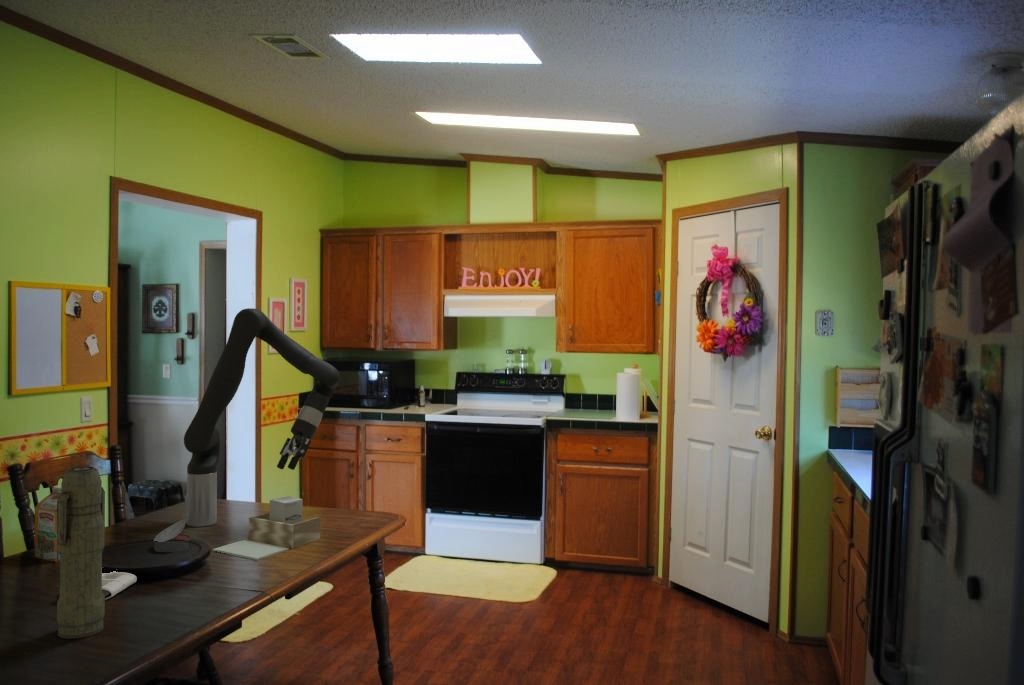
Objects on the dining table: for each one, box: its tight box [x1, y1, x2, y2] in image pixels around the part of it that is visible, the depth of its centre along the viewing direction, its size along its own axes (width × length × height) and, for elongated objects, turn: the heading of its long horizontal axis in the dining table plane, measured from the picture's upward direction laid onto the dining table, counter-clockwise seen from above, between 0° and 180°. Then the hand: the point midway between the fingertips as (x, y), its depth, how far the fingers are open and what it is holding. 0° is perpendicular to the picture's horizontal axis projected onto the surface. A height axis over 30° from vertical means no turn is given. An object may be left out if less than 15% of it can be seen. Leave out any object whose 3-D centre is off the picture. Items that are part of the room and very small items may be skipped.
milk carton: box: [34, 486, 61, 563], centre depth 219 cm, size 11×10×19 cm
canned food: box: [153, 518, 191, 542], centre depth 227 cm, size 11×10×10 cm
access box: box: [248, 511, 321, 550], centre depth 237 cm, size 18×12×7 cm, turn 62°
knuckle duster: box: [102, 571, 138, 601], centre depth 190 cm, size 3×18×15 cm
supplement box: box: [269, 496, 304, 524], centre depth 238 cm, size 7×7×13 cm
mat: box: [212, 539, 289, 561], centre depth 226 cm, size 18×12×1 cm, turn 62°
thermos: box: [56, 465, 106, 640], centre depth 164 cm, size 9×12×35 cm
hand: (285, 468), depth 244 cm, fingers open, 8 cm apart
